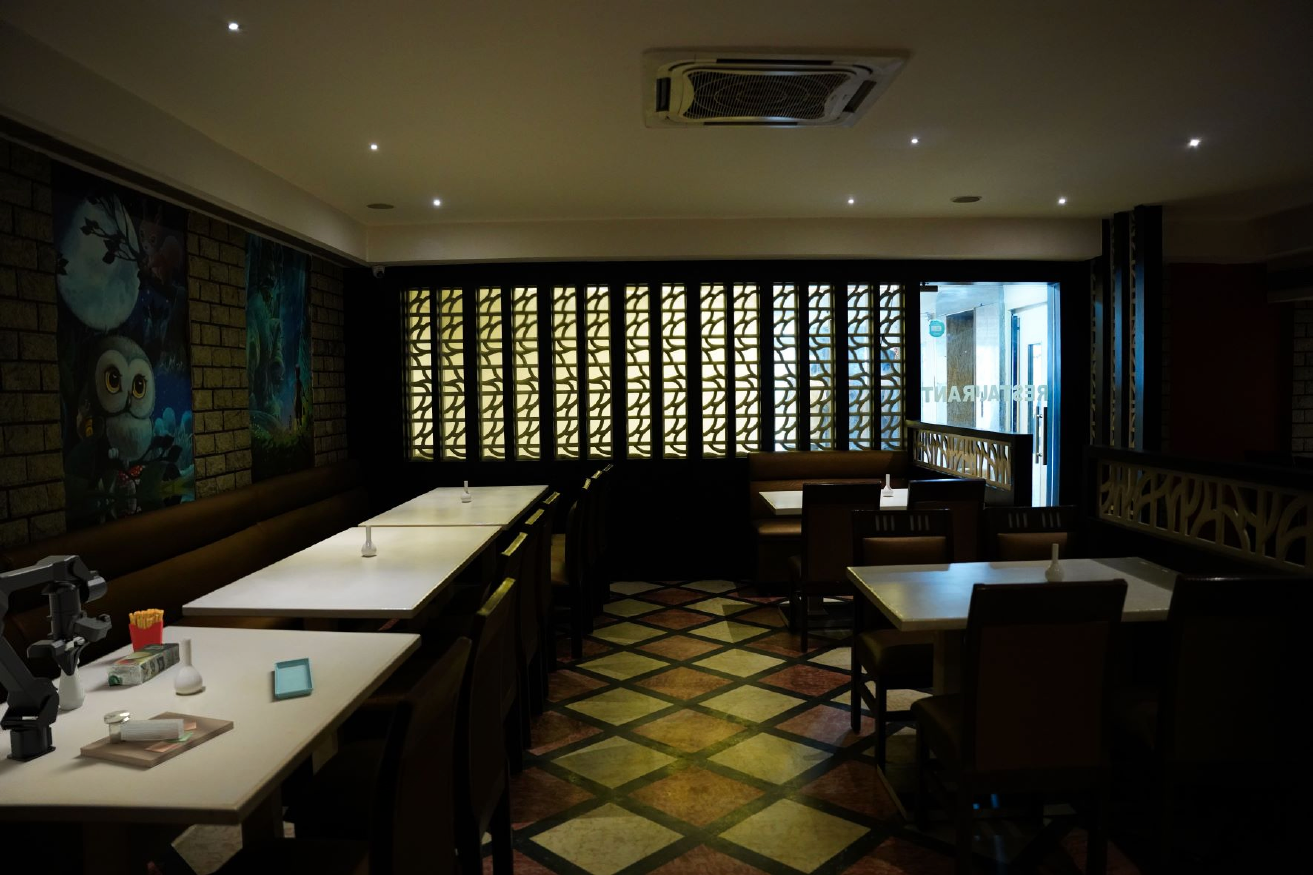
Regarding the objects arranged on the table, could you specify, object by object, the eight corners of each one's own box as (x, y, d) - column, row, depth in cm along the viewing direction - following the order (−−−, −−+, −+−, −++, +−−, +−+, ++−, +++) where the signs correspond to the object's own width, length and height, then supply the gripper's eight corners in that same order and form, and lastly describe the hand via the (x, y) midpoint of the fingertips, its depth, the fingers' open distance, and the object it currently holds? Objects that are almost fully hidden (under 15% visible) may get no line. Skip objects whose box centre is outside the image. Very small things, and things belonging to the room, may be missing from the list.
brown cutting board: (151, 767, 174) (150, 759, 174) (80, 754, 181) (80, 746, 181) (233, 727, 193) (233, 720, 193) (167, 717, 201) (166, 710, 201)
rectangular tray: (314, 695, 214) (313, 686, 214) (275, 702, 210) (274, 692, 210) (310, 665, 238) (309, 657, 238) (274, 671, 234) (274, 662, 234)
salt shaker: (71, 712, 206) (67, 660, 205) (51, 710, 207) (47, 659, 206) (91, 703, 211) (87, 652, 211) (72, 702, 213) (68, 652, 212)
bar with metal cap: (100, 744, 181) (98, 718, 181) (114, 735, 186) (112, 710, 186) (175, 743, 181) (173, 717, 181) (187, 733, 186) (186, 708, 186)
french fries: (129, 656, 249) (126, 613, 248) (134, 652, 253) (131, 610, 252) (164, 653, 251) (161, 610, 250) (168, 649, 255) (165, 607, 254)
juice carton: (141, 686, 223) (139, 663, 223) (103, 687, 223) (102, 665, 223) (181, 662, 244) (180, 641, 243) (147, 663, 243) (146, 643, 243)
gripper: (75, 619, 184) (80, 688, 185) (125, 597, 202) (129, 660, 203) (23, 621, 183) (28, 690, 184) (78, 599, 202) (82, 662, 203)
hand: (70, 675), depth 194 cm, fingers closed
